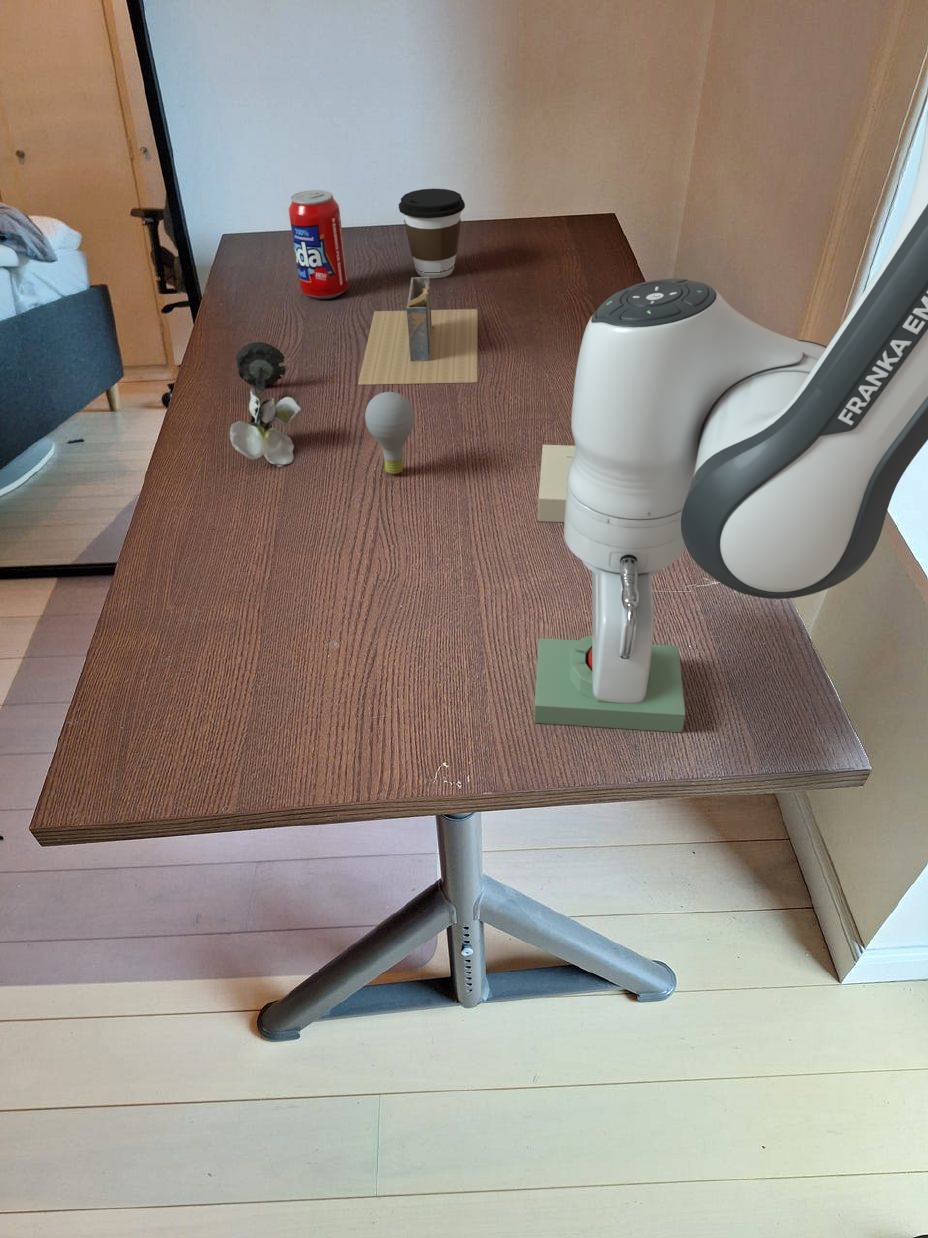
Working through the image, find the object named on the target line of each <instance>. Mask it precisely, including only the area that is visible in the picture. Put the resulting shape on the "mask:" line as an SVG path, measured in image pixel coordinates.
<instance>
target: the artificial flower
mask: <svg viewBox="0 0 928 1238" xmlns="http://www.w3.org/2000/svg"><path fill="white" fill-rule="evenodd" d="M285 358H286V356H285V355H284V354H283V352H281V351H280V349H278V348H277V347H276V346H273V345H272V344H269V343H267V342H262V341H258V342H257V341H256V342H251V343H248V344H246V345H245V346H243V347H242V348H241V349H240V350H238V352H237V354H236V358H235V359H236V365H237V369H238V370H237V374H238V376H239V377H240V378H241V379H242V380H244V382H246V383H247V384H248V385H250V386H253V387H250V390H249V391H250V392H249V393H250V400H249V403H248V410H249V413H250V414H251V415H250V421H249V422H248V423H247V422H245V421H243V420H242V421H239V420H238V421H234V422H233V423H232V424H231V425H230V429H229V439H230V443H231V445H232V447H234V449H235V450H236V451H237V452H238V453H240V454H241V455H243V456H244V457H246V458H247V459H248V460H257V459H259V458H261V457H262V456H264V458H265V459H266V460H267V462H269V463H270V464H272V465H276V467H279V468H281V467H282V468H283V467H284V466H285V465H289V464H290V465H291V463H293V461H294V458H295V456H294V454H293V453H294V452H293V451H294V448H295V445H294V443H293V441H292V439H291V437H290V436H288V435H287V434H285V433H283V432H282V431H280V430H278V427H277V428H276V427H273V424H274V422H276V423H277V424H278V425H279V426H282V427H287V426H288V425H290V424H292V422H293V420H294V419H295V416H296V415H297V414H298V413H299V412H300V411H301V410H302V408H301V407H300V406H299V405H298V403H297V402H296V400H295V399H294V398H293V397H291V396H285V397H283V398H281V399H280V400H279V401H278V402H277V403H275V399H274V398H273V397H271V399H270V400H269V399H268V398H267V399H265V400H263V402H262V403H261V399H262V393H263V392H264V390H265V388H266V386H274V385H275V384H276V383H277V382H278V381H279V380H281V379H282V378H283V376H285V374H286V372H287V369H286V366H285V365H282V366H280V364H282V363H283V364H284V363H285ZM254 387H255V388H257V392H256V391H255V389H254Z"/></svg>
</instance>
